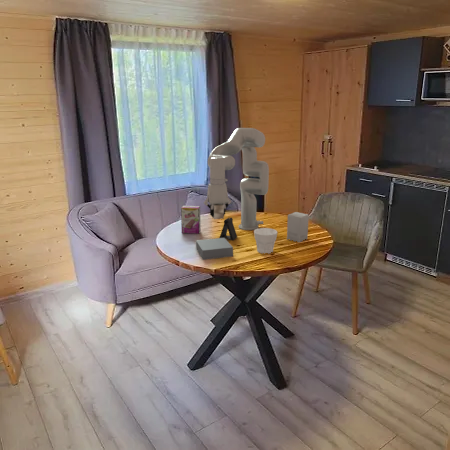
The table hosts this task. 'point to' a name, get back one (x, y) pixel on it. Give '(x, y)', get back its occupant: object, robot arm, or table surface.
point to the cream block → (218, 211)
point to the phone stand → (230, 227)
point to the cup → (265, 239)
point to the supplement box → (297, 226)
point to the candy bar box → (190, 219)
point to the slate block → (214, 248)
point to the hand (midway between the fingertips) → (217, 215)
